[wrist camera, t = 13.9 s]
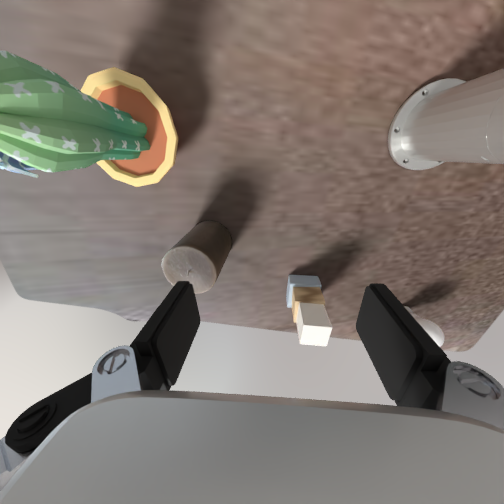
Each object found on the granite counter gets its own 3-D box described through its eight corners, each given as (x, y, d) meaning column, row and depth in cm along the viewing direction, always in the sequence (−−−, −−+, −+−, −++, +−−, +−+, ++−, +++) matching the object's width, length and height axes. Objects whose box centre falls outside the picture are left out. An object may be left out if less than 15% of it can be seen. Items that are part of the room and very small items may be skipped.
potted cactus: (103, 82, 34) (-227, -58, 11) (191, 88, 33) (25, -50, 11) (124, 178, 41) (-55, 207, 18) (197, 184, 40) (104, 222, 18)
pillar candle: (234, 224, 43) (217, 256, 30) (229, 262, 48) (212, 304, 34) (191, 216, 43) (155, 243, 30) (190, 254, 48) (158, 293, 34)
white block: (323, 304, 40) (332, 327, 35) (319, 322, 42) (326, 346, 37) (299, 302, 40) (303, 325, 35) (296, 320, 43) (299, 343, 37)
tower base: (317, 275, 47) (321, 285, 44) (313, 298, 51) (316, 309, 47) (288, 274, 48) (290, 283, 44) (286, 296, 51) (287, 307, 48)
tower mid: (319, 286, 44) (325, 301, 40) (316, 307, 47) (321, 323, 42) (292, 286, 45) (295, 301, 40) (291, 306, 47) (293, 322, 43)
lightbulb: (383, 308, 50) (410, 346, 40) (406, 294, 47) (441, 330, 38) (398, 321, 51) (428, 360, 42) (421, 307, 49) (459, 346, 39)
